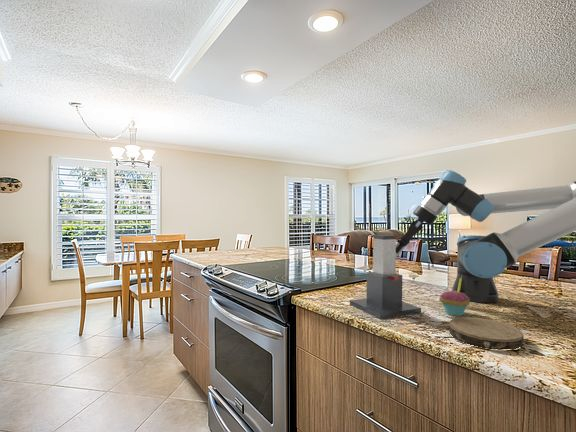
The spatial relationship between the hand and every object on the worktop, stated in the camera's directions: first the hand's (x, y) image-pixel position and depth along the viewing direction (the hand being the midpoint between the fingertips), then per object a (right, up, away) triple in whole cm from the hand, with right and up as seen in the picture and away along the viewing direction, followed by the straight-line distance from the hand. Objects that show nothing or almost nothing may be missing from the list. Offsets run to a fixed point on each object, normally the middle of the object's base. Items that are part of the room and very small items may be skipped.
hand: (391, 256), depth 119 cm
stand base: (-7, -15, -13) cm, 21 cm away
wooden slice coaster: (+11, -16, -38) cm, 43 cm away
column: (-7, -13, -13) cm, 20 cm away
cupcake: (+14, -16, -18) cm, 28 cm away
